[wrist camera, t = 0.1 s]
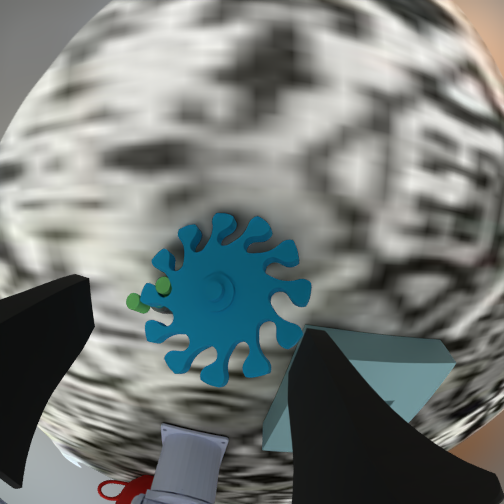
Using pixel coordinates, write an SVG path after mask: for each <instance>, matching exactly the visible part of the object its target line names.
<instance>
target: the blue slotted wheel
mask: <svg viewBox="0 0 504 504" xmlns="http://www.w3.org/2000/svg"><path fill="white" fill-rule="evenodd" d="M212 224H213V230H212V235H211V237H210V239H209V241H208V243H207V244H206V246H205V248H204V249H203V250H202V251H200V252H195V250H196V247H197V245H198V244H199V242H200V241H201V238H202V233H201V231H200V230H199V229H198V228H197V226H196V225H195V224H191V225H187V226H185V227H183V228H180V229H179V231H178V237H179V239H180V240H181V242H182V244H183V246H184V252H185V253H184V263H183V266H182V267H181V269H179V270H178V271H175V262H176V260H175V257H174V255H173V254H171V253H170V252H169V251H168V250H166V249H162V250H161V251H159V252H158V253H157V254H156V255H155V256H154V258H153V259H152V264H153V266H154V267H156V268H157V269H159V270H160V271H162V272H164V273H165V274H166V275H167V276H168V278H167V277H161V278H159V279H158V280H157V282H156V285H153V284H151V283H146V285H145V286H144V288H143V290H142V293H141V296H140V295H138V294H136V293H131V294H130V295H129V296H128V297H127V300H126V304H127V307H128V308H129V309H132V310H134V311H137V312H140V313H143V314H144V313H147V312H148V311H149V309H150V307H151V308H152V309H153V310H155V311H157V312H160V313H163V314H173V316H174V319H173V322H172V324H171V325H169V326H166V325H165V324H163V323H161V322H158V321H155V320H149V321H147V322H146V324H145V333H146V338H147V341H149V342H153V343H162V342H164V341H165V340H166V339H167V338H169V337H171V336H173V335H177V334H186V335H187V336H188V337H189V340H190V344H189V347H188V348H187V349H186V350H185V351H170V352H168V353H167V354H166V355H165V358H164V359H165V361H166V363H167V365H168V366H169V368H170V369H171V370H172V371H173V372H174V373H175V374H183V373H186V372H187V371H188V370H189V369H190V367H191V364H192V362H193V360H194V359H195V357H196V356H197V355H198V354H199V353H200V352H202V351H203V350H205V349H207V348H209V347H211V346H213V347H214V348H215V349H216V350H217V359H216V361H215V362H214V363H212V364H210V365H208V366H206V367H205V368H204V369H203V370H202V371H201V374H200V379H201V380H202V381H203V382H205V383H207V384H209V385H212V386H215V387H224V386H225V385H226V384H227V383H228V380H229V374H228V362H229V358H230V356H231V354H232V352H233V350H234V349H235V347H236V346H237V344H239V343H240V342H246V343H247V344H248V345H249V348H250V353H249V355H248V357H247V359H246V360H245V362H244V364H243V373H244V375H245V376H246V377H249V378H252V377H258V376H262V375H266V374H268V373H270V372H271V364H270V362H269V360H268V359H267V358H266V357H265V356H264V354H263V353H262V350H261V348H260V343H259V329H260V326H261V325H262V324H263V323H264V322H267V321H271V322H274V323H275V325H276V338H277V342H278V343H279V345H280V346H282V347H283V348H285V349H290V348H291V347H293V346H294V345H295V344H296V343H297V342H298V341H299V340H300V339H301V338H302V336H303V332H302V330H301V328H300V327H299V326H298V325H296V324H294V323H290V322H288V321H286V320H284V319H282V318H281V317H279V316H278V315H277V313H276V312H275V310H274V309H273V307H272V305H271V297H272V295H273V294H274V293H276V292H285V293H286V294H287V295H288V296H289V298H290V299H291V301H292V302H293V304H295V305H296V306H298V307H306V305H307V304H308V302H309V299H310V295H311V288H312V286H311V282H310V281H308V280H306V279H298V280H294V281H282V280H278V279H276V278H273V277H271V276H269V275H267V274H266V273H265V271H266V268H267V266H268V265H269V264H271V263H274V262H276V263H279V264H281V265H283V266H286V267H295V266H297V265H298V264H299V256H298V251H297V248H296V245H295V243H294V241H293V240H285V241H283V242H281V243H280V244H279V245H278V246H277V247H275V248H274V249H272V250H270V251H267V252H263V253H248V252H247V248H248V246H249V245H250V244H252V243H255V242H265V241H267V240H269V239H270V238H271V236H272V234H273V233H272V230H271V227H270V226H269V224H268V223H267V222H266V221H265V220H264V219H262V218H261V217H259V216H256V217H254V218H252V219H251V220H250V222H249V224H248V227H247V229H246V230H245V232H244V233H243V234H242V235H241V236H240V237H239V238H238V239H237V240H235V241H234V242H232V243H230V244H228V245H225V246H223V245H221V243H222V240H223V239H224V238H225V237H226V236H228V235H230V234H231V233H233V232H234V231H235V229H236V226H237V223H236V221H235V219H234V217H233V216H232V215H229V214H225V213H216V214H215V215H214V217H213V219H212Z"/></svg>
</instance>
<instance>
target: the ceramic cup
mask: <svg viewBox="0 0 504 504" xmlns="http://www.w3.org/2000/svg"><path fill="white" fill-rule="evenodd" d="M153 479H154V476H150V475H142V476H141V477H138V478H136V479H134V480H132V481H131V482H129V483H128V482H123V481H117V480H107V481H104V482H102V483H100V484H99V486H98V493H99V494H100V496H101V497H103V498H105V499H107V500H111V501H116V504H131V502H132V500H133V498H134V497H135V496H137V495H139V494H141V493H142V494H146V492H147V489H149V490H151V486H152V483H153ZM109 483H114V484H121V485H125V487H124V489H123V490H122V492H121V493H120V494H119V495H117V496H116V497H107V496H105V495H104V494H103V493H102V492H101V488H102V487H103V486H104V485H106V484H109Z"/></svg>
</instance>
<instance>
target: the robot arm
mask: <svg viewBox="0 0 504 504" xmlns="http://www.w3.org/2000/svg"><path fill="white" fill-rule="evenodd" d="M94 327H95V325H94V318H93V310H92V302H91V293H90V283H89V278H87V277H83V276H80V275H77V274H74V275H69V276H66V277H63V278H59V279H56V280H54V281H51V282H48V283H45V284H43V285H40V286H37V287H35V288H32V289H29V290H27V291H24V292H21V293H18V294H15V295H12V296H9V297H7V298H4V299H1V300H0V479H2V480H3V481H4V482H6V483H7V484H8V485H10V486H11V487H13V488H15V489H18V488H22V482H23V475H24V470H25V464H26V459H27V455H28V451H29V448H30V444H31V441H32V438H33V435H34V432H35V430H36V427H37V424H38V422H39V419H40V417H41V415H42V413H43V410H44V408H45V406H46V404H47V402H48V400H49V398H50V397H51V395H52V393H53V392H54V390H55V389H56V387H57V386H58V384H59V383H60V381H61V380H62V378H63V377H64V375H65V374H66V372H67V371H68V370H69V368H70V367H71V365H72V364H73V362H74V361H75V360H76V358H77V357H78V355H79V354H80V352H81V351H82V349H83V348H84V346H85V344H86V342H87V341H88V339H89V337H90V335H91V333H92V331H93V329H94ZM288 410H289V420H290V430H291V440H292V450H293V465H294V473H293V495H292V504H499V503H501V502H502V501H503V499H504V493H503V491H502V488H501V485H500V483H499V480H498V478H497V476H496V474H495V473H492V472H489V471H487V470H484V469H482V468H479V467H477V466H475V465H472V464H470V463H467V462H466V461H464V460H462V459H460V458H458V457H456V456H455V455H453V454H451V453H449V452H447V451H446V450H444V449H443V448H441V447H440V446H438V445H436V444H435V443H434V442H432V441H431V440H429V439H428V438H427V437H425V436H424V435H423V434H421V433H420V432H418V431H417V430H416V429H415V428H413V427H412V426H411V425H410V424H409V423H407V422H406V421H405V420H404V419H403V418H402V417H401V416H400V415H399V414H397V413H396V412H395V411H394V410H393V409H392V408H391V407H390V406H389V405H388V404H387V403H386V402H385V401H384V400H383V399H382V398H381V397H380V396H379V395H378V394H377V392H376V391H375V390H374V389H373V388H372V387H371V386H370V385H369V384H368V383H367V381H366V380H365V379H364V378H363V377H362V376H361V374H360V373H359V372H358V371H357V370H356V368H355V367H354V366H353V365H352V363H351V362H350V361H349V360H348V358H347V357H346V356H345V355H344V353H343V352H342V351H341V350H340V348H339V347H338V346H337V344H336V343H335V342H334V341H333V339H332V338H331V337H330V336H329V335H328V333H327V332H326V331H325V330H318V329H311V328H306V331H305V333H304V336H303V338H302V341H301V343H300V346H299V348H298V351H297V353H296V356H295V358H294V360H293V363H292V365H291V368H290V370H289V372H288ZM161 434H162V444H163V447H162V451H161V454H160V458H159V461H158V465H157V468H156V472H155V475H154V479H153V483H152V486H151V490H149V489H147V492H146V494H142V493H141V494H139V495H137V496H135V497H134V498H133V500H132V502H131V504H214V503H215V496H216V488H217V481H218V474H219V466H220V464H221V461H222V459H223V456H224V453H225V450H226V447H227V444H228V441H229V439H228V438H227V437H223V436H217V435H212V434H207V433H202V432H197V431H193V430H188V429H184V428H180V427H176V426H172V425H169V424H165V423H163V424H161ZM0 504H7V503H6V502H4V501H3V500H2V499H1V498H0Z"/></svg>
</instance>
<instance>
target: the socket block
mask: <svg viewBox="0 0 504 504" xmlns="http://www.w3.org/2000/svg"><path fill="white" fill-rule="evenodd" d="M306 328H311V329H318V330H325V331H326V332H327V333H328V335H329V336H330V337H331V338H332V339H333V341H334V342H335V343H336V344H337V346H338V347H339V348H340V350H341V351H342V352H343V353H344V355H345V356H346V357H347V358H348V360H349V361H350V362H351V363H352V365H353V366H354V367H355V368H356V370H357V371H358V372H359V373H360V374H361V376H362V377H363V378H364V379H365V380H366V381H367V383H368V384H369V385H370V386H371V387H372V388H373V389H374V390H375V391H376V392H377V394H378V395H379V396H380V397H381V398H382V399H383V400H384V401H385V402H386V403H387V404H388V405H389V406H390V407H391V408H392V409H393V410H394V411H395V412H396V413H397V414H399V415H400V416H401V417H402V418H403V419H404V420H405V421H406V422H407V423H409V422H410V420H411V419H412V418H413V417H414V416H415V415H416V414H417V413H418V412H419V410H420V409H421V408H422V407H423V406H424V405H425V403H426V402H427V401H428V400H429V399H430V397H431V396H432V395H433V394H434V392H435V391H436V390H437V389H438V387H439V386H440V385H441V383H442V382H443V381H444V379H445V378H446V377H447V375H448V374H449V373H450V371H451V370H452V368H453V367H454V365H455V364H456V362H455V360H454V359H453V357H452V356H451V355H450V353H449V352H448V350H447V349H446V347H445V346H444V345H443V343H442V342H441V340H437V339H423V338H411V337H400V336H390V335H380V334H371V333H363V332H355V331H347V330H340V329H332V328H325V327H319V326H312V325H306V324H305V327H304V330H303V336H304V333H305V331H306ZM303 336H302V338H303ZM302 338H301V339H300V340H299V342H298V345H297V347H296V350H295V352H294V355H293V357H292V360H291V362H290V364H289V367H288V369H287V371H286V374H285V376H284V378H283V381H282V383H281V385H280V388H279V390H278V392H277V394H276V397H275V399H274V401H273V403H272V405H271V408H270V410H269V412H268V414H267V416H266V418H265V420H264V422H263V442H262V450H267V451H280V452H293V450H292V440H291V430H290V420H289V410H288V372H289V370H290V368H291V365H292V363H293V360H294V358H295V356H296V353H297V351H298V348H299V346H300V343H301V341H302Z"/></svg>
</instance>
